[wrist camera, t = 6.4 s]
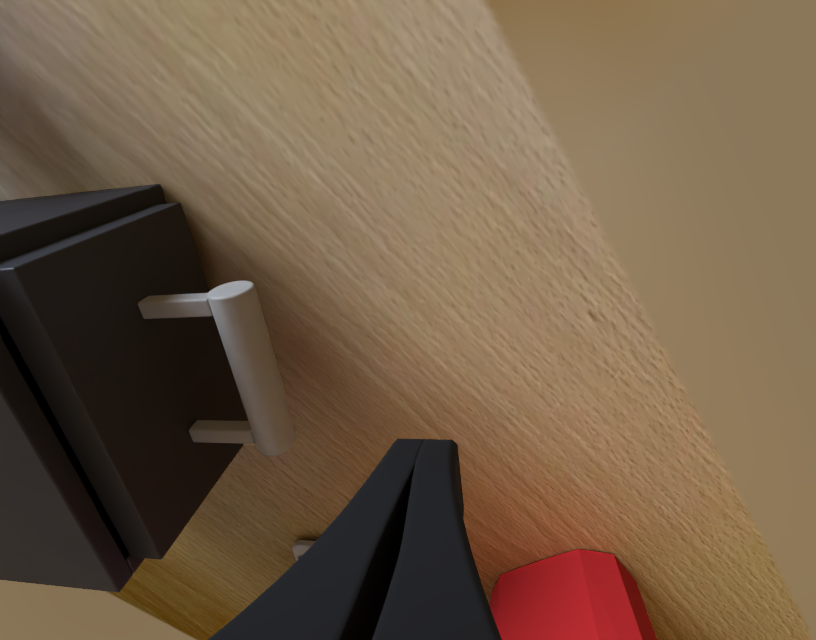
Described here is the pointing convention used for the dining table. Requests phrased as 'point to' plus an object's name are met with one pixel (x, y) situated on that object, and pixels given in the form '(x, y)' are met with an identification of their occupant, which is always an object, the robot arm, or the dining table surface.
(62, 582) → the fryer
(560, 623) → the french fries
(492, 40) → the dining table surface
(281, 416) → the drawer
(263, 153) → the dining table surface
